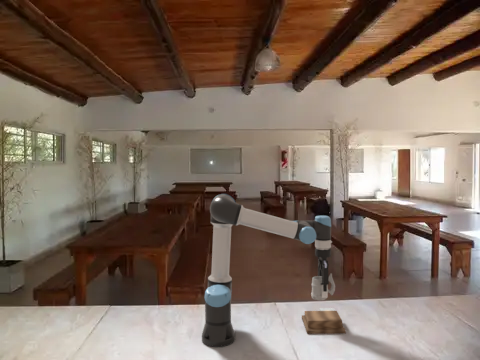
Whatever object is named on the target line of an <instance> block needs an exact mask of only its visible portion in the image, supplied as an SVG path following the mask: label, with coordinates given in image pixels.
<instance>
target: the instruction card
mask: <svg viewBox="0 0 480 360" xmlns="http://www.w3.org/2000/svg"><path fill="white" fill-rule="evenodd" d="M318 311H336V309H335V307H319V308H318Z"/></svg>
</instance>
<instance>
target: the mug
mask: <svg viewBox="0 0 480 360" xmlns="http://www.w3.org/2000/svg"><path fill="white" fill-rule="evenodd" d="M328 278H329V284H331V285H330V286H331V287H330V289H329V288H328V294H329V295H330V296H333V295H334V293H335V291H336V284H335V281H334V278H333V273H330V274H328ZM311 279H312V280H311V293H310V295H311V299H312V300H315V301H325V300H327V298H322V285H321V283H322V276H318V275H317V276H316V275H315V276H313V277H312V278H311Z"/></svg>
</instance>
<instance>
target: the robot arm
mask: <svg viewBox="0 0 480 360" xmlns="http://www.w3.org/2000/svg"><path fill="white" fill-rule="evenodd" d="M209 213H210V224H211V225H212V226H213V227H212V229H213V230H212V232H213V233H212V250H211V251H212V253H211V257H212V258H211V273H210V275H209V276H207V288H206V289H205V291H204V303H205V304H204V307H205V308H204V311H205V312H204V313H205V314H204V315H205V316H204V318H205V323H204V326H203V329H202V333H201V341H202V343H203V344H204V345H206V346H210V347H217V348H218V347H219V348H220V347H225V346H229V345H231V344H232V343H234V342H235V340H236V332H235V330H234V327H233V324H232V305H231V304H232V292H233V289H232V287H233V278H232V276H231V275H230V264H231V246H232V245H231V241H232V240H231V239H232V227H233V226H239V225H241V226H244V227H245V226H246V227H249V228H253V229H256V230H261V231H263V232H267V233H271V234H276V235H278V236H282V237H285V238H290V239H293V240H295V241H296V240H297V241H299V242H302V243H303V244H306V245H310V244H312V243H314V247H315V249H314V256H315V257H317V276H322V283H321V285H322V298H326V299H327V298H328V297H329V296H328V294H329V293H328V289H329V288H328V285H330V281H329V278H328V277H329V261H328V258H330V257H331V256H332V249H331V248H332V243H333V241H332V218H331V217H330V216H328V215H316V216H315V217H314V220H312V219H311V220H299V219H298V220H291V219H285V218H282V217H278V216H274V215H271V214H267V213H264V212H259V211H258V210H257V211H256V210H253V209H250V208H245V207H244V205H243V204H240V203H238V202H236V200H235V199H234V197H232V196H231V195H229V194H227V193H221V194H218V195H216V196H215V197H214V198H213V199H212V201H211V203H210V205H209Z"/></svg>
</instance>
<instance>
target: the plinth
mask: <svg viewBox="0 0 480 360" xmlns="http://www.w3.org/2000/svg"><path fill="white" fill-rule="evenodd" d="M301 320H302V323H303V327H304V329H305V332H306V334H307V335H312V334H313V335H321V334H323V335H326V334H327V335H328V334H330V335H333V334H334V335H335V334H337V335H338V334H340V335H341V334H342V335H343V334H344V335H345V334H347V332H346V331H347V330H346V328H345V327H344V324H343V319H342V318H341V315H340V314H339V312H338V311H337V310H335V311H320V310H305V311H304V314H302V315H301Z"/></svg>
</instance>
